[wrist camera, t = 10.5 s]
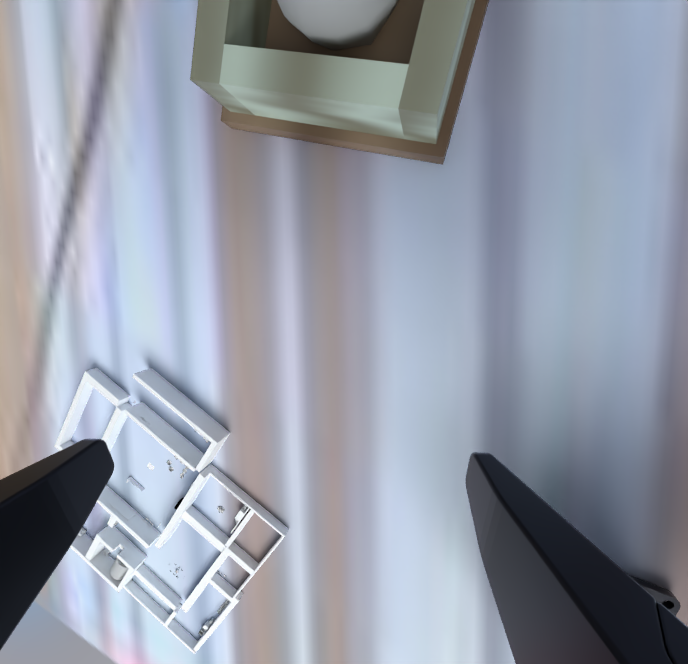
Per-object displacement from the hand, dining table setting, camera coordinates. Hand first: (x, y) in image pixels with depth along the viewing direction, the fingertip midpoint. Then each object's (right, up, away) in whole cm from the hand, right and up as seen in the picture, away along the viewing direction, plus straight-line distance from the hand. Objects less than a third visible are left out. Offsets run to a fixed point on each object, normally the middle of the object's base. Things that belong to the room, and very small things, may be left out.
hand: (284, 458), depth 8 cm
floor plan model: (-15, -8, +18) cm, 25 cm away
